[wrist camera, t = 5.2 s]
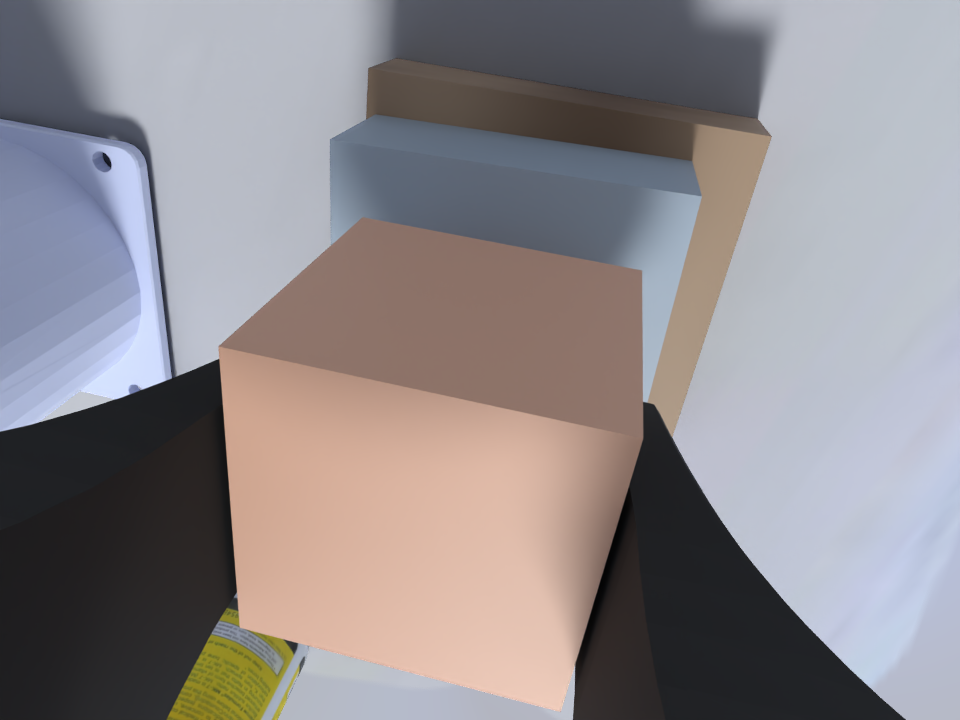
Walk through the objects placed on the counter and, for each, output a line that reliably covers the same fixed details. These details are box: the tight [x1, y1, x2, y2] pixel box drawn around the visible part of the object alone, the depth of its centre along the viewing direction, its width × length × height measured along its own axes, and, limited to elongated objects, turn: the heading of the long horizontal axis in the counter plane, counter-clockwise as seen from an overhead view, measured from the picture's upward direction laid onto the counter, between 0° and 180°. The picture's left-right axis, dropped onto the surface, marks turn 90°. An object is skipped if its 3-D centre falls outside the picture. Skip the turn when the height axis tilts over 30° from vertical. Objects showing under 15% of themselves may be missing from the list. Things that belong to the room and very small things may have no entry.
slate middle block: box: [330, 114, 702, 402], centre depth 15 cm, size 6×6×2 cm
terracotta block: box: [219, 217, 643, 712], centre depth 10 cm, size 4×4×4 cm
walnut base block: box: [366, 58, 772, 437], centre depth 17 cm, size 8×8×2 cm
